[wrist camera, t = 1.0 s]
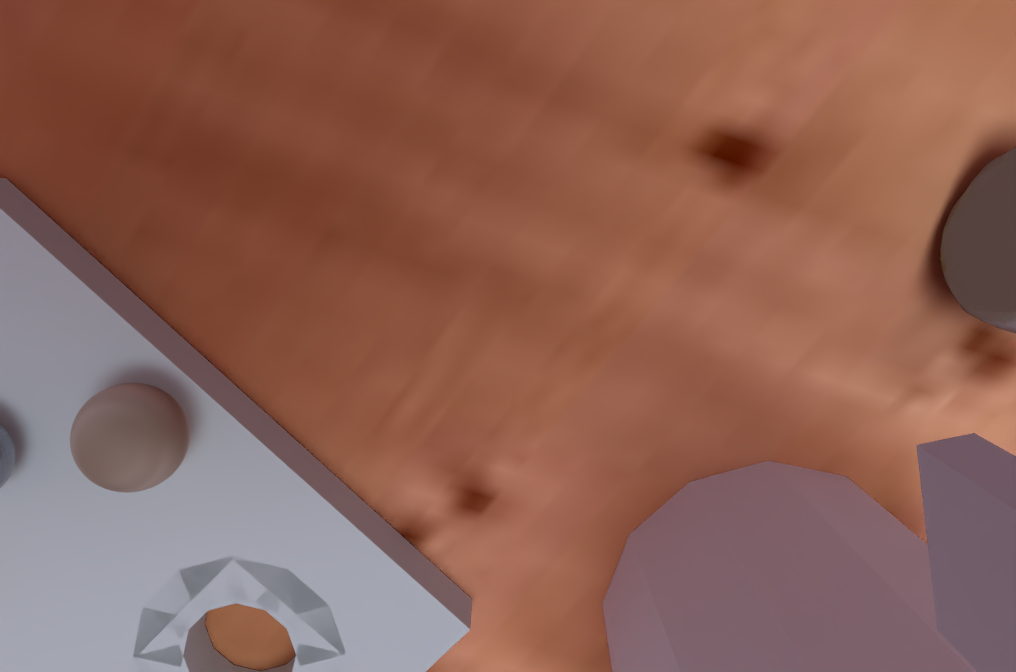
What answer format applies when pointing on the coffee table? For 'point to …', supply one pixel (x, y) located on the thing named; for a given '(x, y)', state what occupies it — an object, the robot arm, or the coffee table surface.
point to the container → (774, 582)
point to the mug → (984, 245)
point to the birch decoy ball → (129, 437)
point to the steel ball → (6, 455)
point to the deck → (177, 502)
